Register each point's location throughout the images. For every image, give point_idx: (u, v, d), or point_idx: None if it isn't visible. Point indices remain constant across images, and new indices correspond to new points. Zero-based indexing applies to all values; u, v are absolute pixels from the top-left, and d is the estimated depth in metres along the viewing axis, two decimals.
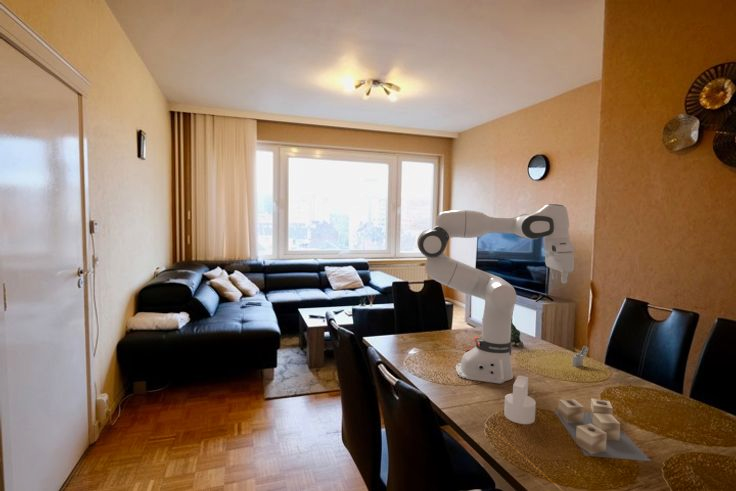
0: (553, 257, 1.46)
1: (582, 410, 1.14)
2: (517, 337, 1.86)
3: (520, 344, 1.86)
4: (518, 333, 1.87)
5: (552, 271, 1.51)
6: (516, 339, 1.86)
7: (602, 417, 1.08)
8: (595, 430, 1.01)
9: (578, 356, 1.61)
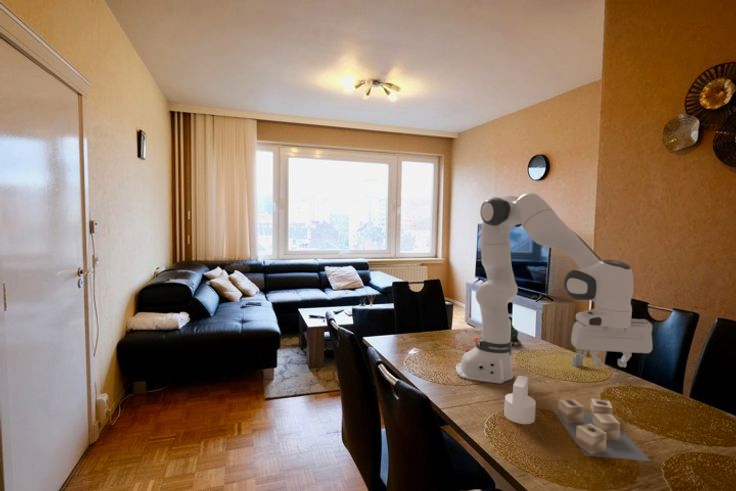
0: None
1: (582, 410, 1.14)
2: (515, 336, 1.87)
3: (518, 343, 1.86)
4: (516, 332, 1.88)
5: (624, 355, 1.07)
6: (514, 338, 1.87)
7: (602, 417, 1.08)
8: (595, 430, 1.01)
9: (578, 356, 1.61)
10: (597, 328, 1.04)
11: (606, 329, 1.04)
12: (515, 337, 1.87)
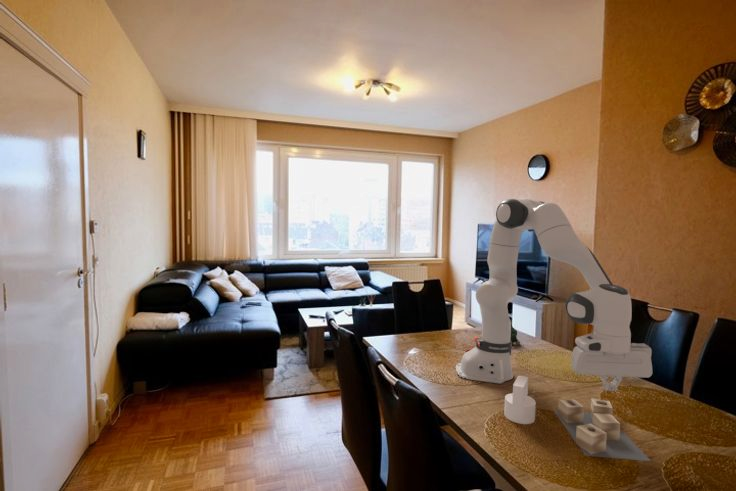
0: None
1: (582, 410, 1.14)
2: (514, 336, 1.87)
3: (517, 343, 1.87)
4: (515, 332, 1.88)
5: (615, 379, 1.07)
6: (513, 338, 1.87)
7: (602, 417, 1.08)
8: (595, 430, 1.01)
9: None
10: (597, 353, 1.04)
11: (606, 354, 1.05)
12: (514, 337, 1.87)
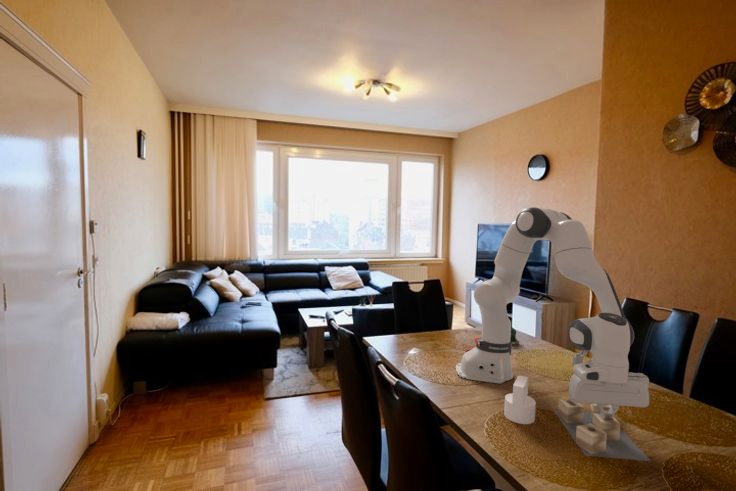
0: None
1: (582, 410, 1.14)
2: (513, 336, 1.88)
3: (516, 343, 1.87)
4: (514, 332, 1.89)
5: (612, 407, 1.08)
6: (512, 338, 1.88)
7: None
8: (595, 430, 1.01)
9: (578, 356, 1.61)
10: (594, 382, 1.05)
11: (603, 383, 1.05)
12: (513, 336, 1.88)
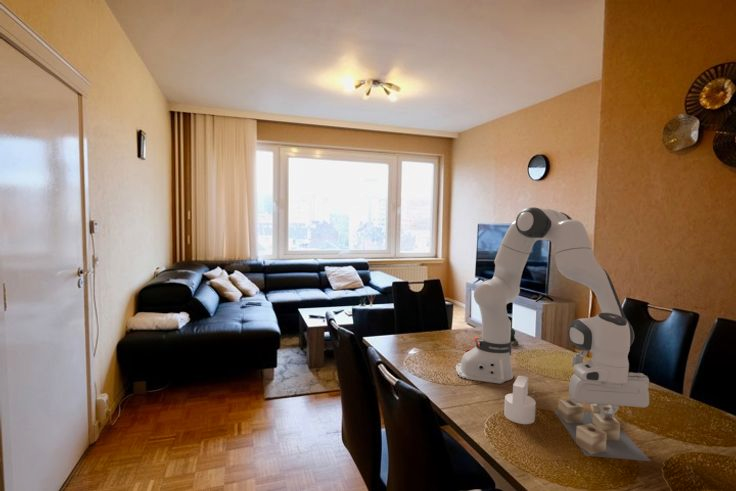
0: None
1: (582, 410, 1.14)
2: (512, 336, 1.88)
3: (515, 342, 1.88)
4: (513, 332, 1.89)
5: (612, 407, 1.08)
6: (511, 337, 1.88)
7: None
8: (595, 430, 1.01)
9: (578, 356, 1.61)
10: (594, 382, 1.05)
11: (603, 383, 1.05)
12: (512, 336, 1.88)
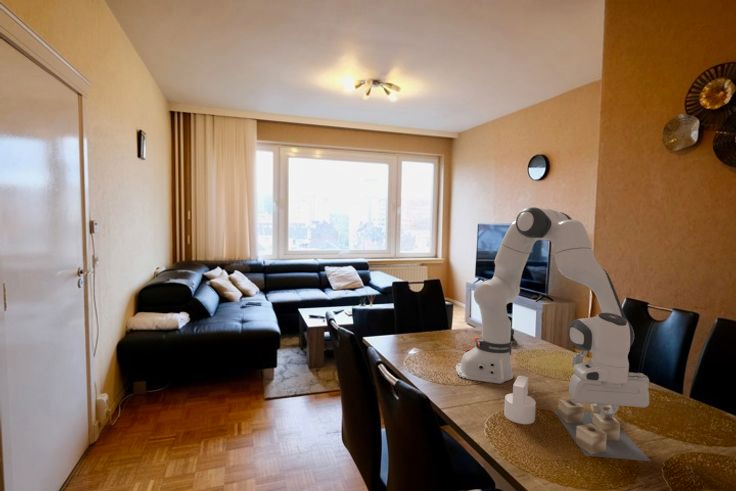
0: None
1: (582, 410, 1.14)
2: (511, 335, 1.88)
3: (514, 342, 1.88)
4: (512, 331, 1.90)
5: (612, 407, 1.08)
6: (510, 337, 1.89)
7: None
8: (595, 430, 1.01)
9: (578, 356, 1.61)
10: (594, 382, 1.05)
11: (603, 383, 1.05)
12: (511, 336, 1.89)
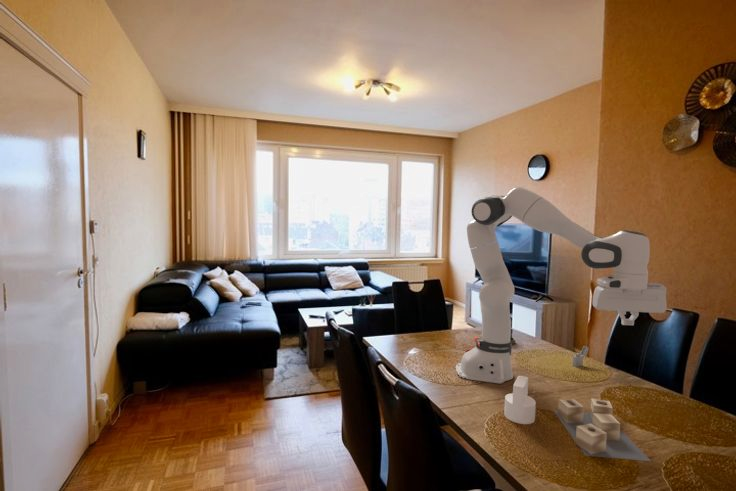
0: None
1: (582, 410, 1.14)
2: None
3: (512, 342, 1.89)
4: None
5: (632, 315, 1.20)
6: None
7: (602, 417, 1.08)
8: (595, 430, 1.01)
9: (578, 356, 1.61)
10: (616, 290, 1.17)
11: (625, 291, 1.17)
12: None
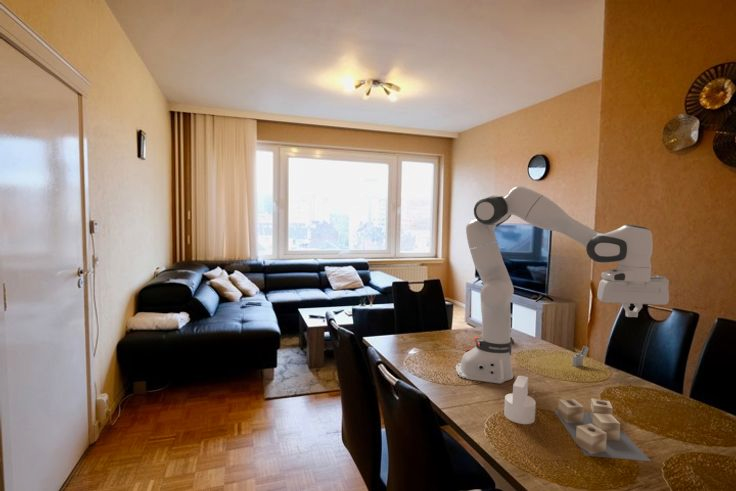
0: None
1: (582, 410, 1.14)
2: None
3: None
4: None
5: (635, 307, 1.23)
6: None
7: (602, 417, 1.08)
8: (595, 430, 1.01)
9: (578, 356, 1.61)
10: (621, 283, 1.20)
11: (629, 284, 1.20)
12: None
